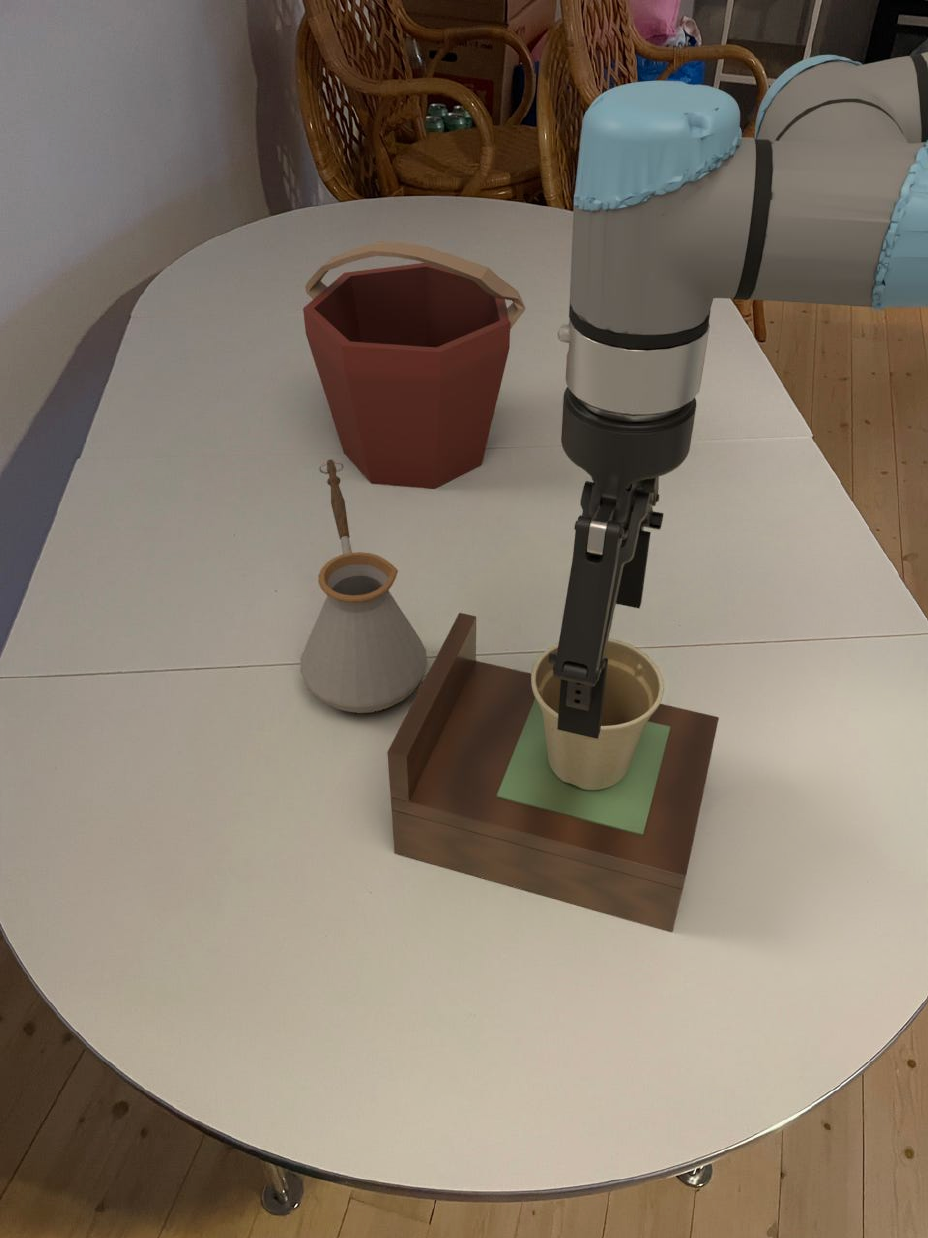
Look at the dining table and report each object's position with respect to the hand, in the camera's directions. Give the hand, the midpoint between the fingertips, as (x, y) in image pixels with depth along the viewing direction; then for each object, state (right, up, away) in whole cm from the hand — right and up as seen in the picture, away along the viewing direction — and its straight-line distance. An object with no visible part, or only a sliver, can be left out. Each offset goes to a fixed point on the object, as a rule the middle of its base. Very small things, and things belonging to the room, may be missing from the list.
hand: (602, 662), depth 73 cm
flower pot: (0, -8, +7) cm, 11 cm away
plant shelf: (-2, -13, +12) cm, 18 cm away
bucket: (-16, +23, +53) cm, 60 cm away
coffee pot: (-20, 0, +27) cm, 34 cm away
